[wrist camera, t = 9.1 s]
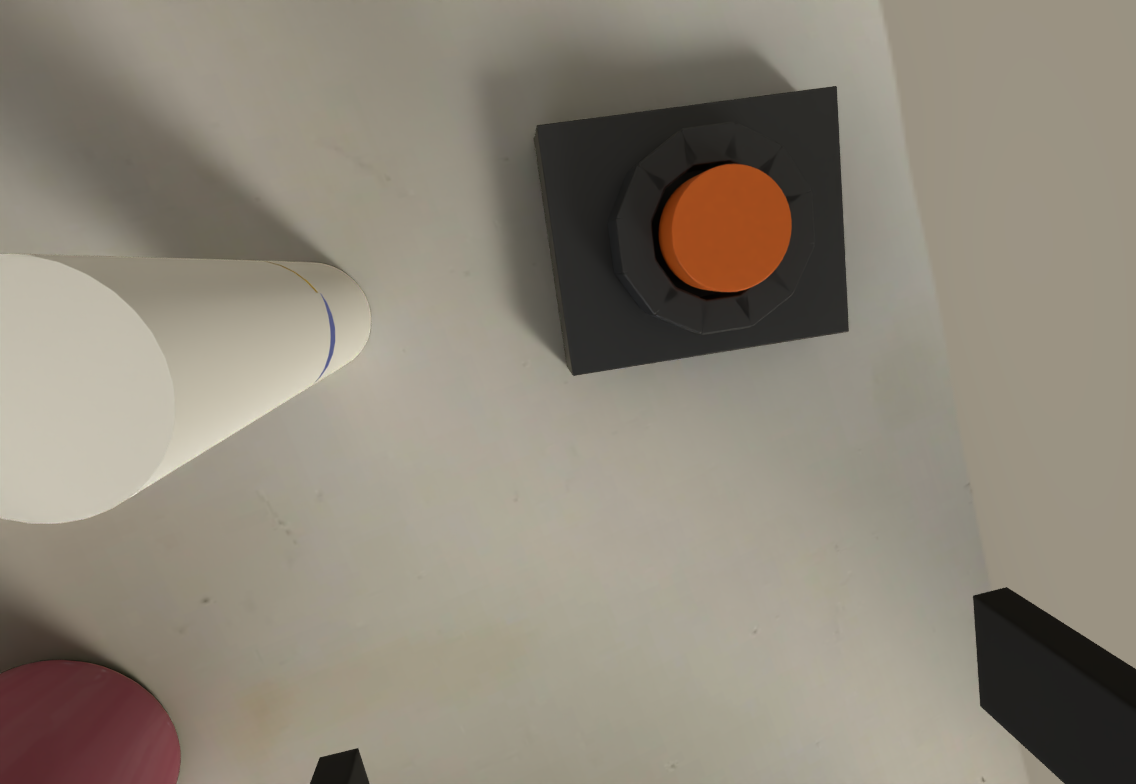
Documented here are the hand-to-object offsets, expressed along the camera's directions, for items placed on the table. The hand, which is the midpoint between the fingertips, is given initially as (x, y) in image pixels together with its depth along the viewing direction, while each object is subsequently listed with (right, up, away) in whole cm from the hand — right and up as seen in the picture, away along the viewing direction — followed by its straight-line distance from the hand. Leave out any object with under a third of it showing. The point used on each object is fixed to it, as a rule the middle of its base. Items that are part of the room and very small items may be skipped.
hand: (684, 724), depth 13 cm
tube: (-12, +10, +12) cm, 20 cm away
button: (+3, +12, +9) cm, 15 cm away
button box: (+2, +13, +12) cm, 18 cm away
